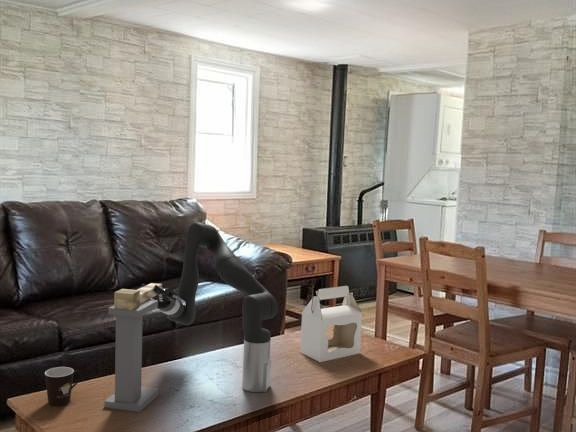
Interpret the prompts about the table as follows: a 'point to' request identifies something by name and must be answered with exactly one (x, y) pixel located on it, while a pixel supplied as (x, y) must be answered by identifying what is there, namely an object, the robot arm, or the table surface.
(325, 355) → the gable box
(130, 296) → the beech bar
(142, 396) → the grey stand
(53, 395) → the coffee mug
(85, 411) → the table surface
